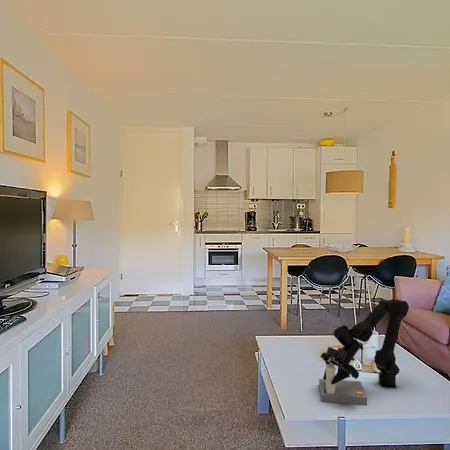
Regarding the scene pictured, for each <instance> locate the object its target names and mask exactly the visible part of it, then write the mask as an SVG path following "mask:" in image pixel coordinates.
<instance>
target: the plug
mask: <svg viewBox="0 0 450 450" xmlns="http://www.w3.org/2000/svg"><path fill="white" fill-rule="evenodd" d="M325 369H326V394H335V384H333V385H332V384H331V382H332V380H333V378H334V377H335V375H336V370H335V369H336V367H335V365H334V364H327V365H326V364H325Z"/></svg>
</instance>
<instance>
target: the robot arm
mask: <svg viewBox="0 0 450 450" xmlns="http://www.w3.org/2000/svg"><path fill="white" fill-rule="evenodd" d="M409 308H410V305H409V303H408V301H406V300H402V299H398V298H391V299H389V300H388V299H381V300H379V302H378V304H377V305H376V306H375V308H374V309H373V310H372V311H371V312H370V313H369V315H367V317H366V318H365V319H364V320H361V321H360V322H357V323H356V324H355V325H354V326H352V327H351V328H349V327H348V326H347V325H345V324H342V325H341V326H338V327H337V328H336V329H334V331H333V336H334V338H335V339H336V340H337V341H338V343H340V345H342V348H341V347H339V348H338V349H336V348H333V347H330V346H328V347H327V351H326V352H322V353H321V355H320V356H319V357H320V358H321V359H322V360H323V362H324V363H325V366H326V365H327V364H334V366H336V367H337V369H336V368H335V371H336V370H337V372H335V377H334V378H333V380H332V382H331V384H332V385H333V384H335V383H337V382H339V381H341V380H346V379H348V378H349V379H350V378H352V379H355V380H358V378H359V376H360V372H359V371H358V369H356V368H355V367H354V366H353V365H351V364H350V363H351V362H352V361H353V362H354V361H355V356H356V354H357V353H358V352H359V350H360V351H364V344H363V343H366V342H368V341H369V340H370V338H371V337H372V335H373V333H374V328H375V327H376V326H377V325H378V324H379V323H380V321H381V320H382V319H383V318H384V317H385V315H386V314H388V316H389V319H388V323H387V327H386V331H385V334H384V338H383V341H382V342H383V343H382V345H381V348H380V349H376V351H375V355H374V357H373V359H374V364H375V367H376V369H377V370H379V372H378V376H377V377H378V378H377V379H378V381H377V382H378V383H379V384H380V386H381V387H382V388H391V389H392V388H395V389H396V388H397V385H396V381H397V379H396V378H397V377H396V376H398V375H399V374H400V371H401V369H400V368H399V366H398V365H397V364H396V354H395V347H396V344H397V339H398V335H399V331H400V327H401V322H402V320H403V319H405V318H406V317H407V315H408V312H409V310H410V309H409ZM362 342H363V343H362ZM322 379H324V380H326V368H325V369H324V374H323V378H322Z"/></svg>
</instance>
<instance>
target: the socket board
mask: <svg viewBox="0 0 450 450" xmlns="http://www.w3.org/2000/svg"><path fill="white" fill-rule="evenodd" d="M318 388H319V394H320V399H321V400H320V401H321V403H334V404H347V405H361V406H362V405H363V406H368V397H367V394H366V392H365V390H364V387H363V385H362V382H361V381H360V380H346V379H343V380H341V381H339V382H337V383H335V394H326V380H324V379H323V378H318Z"/></svg>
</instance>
